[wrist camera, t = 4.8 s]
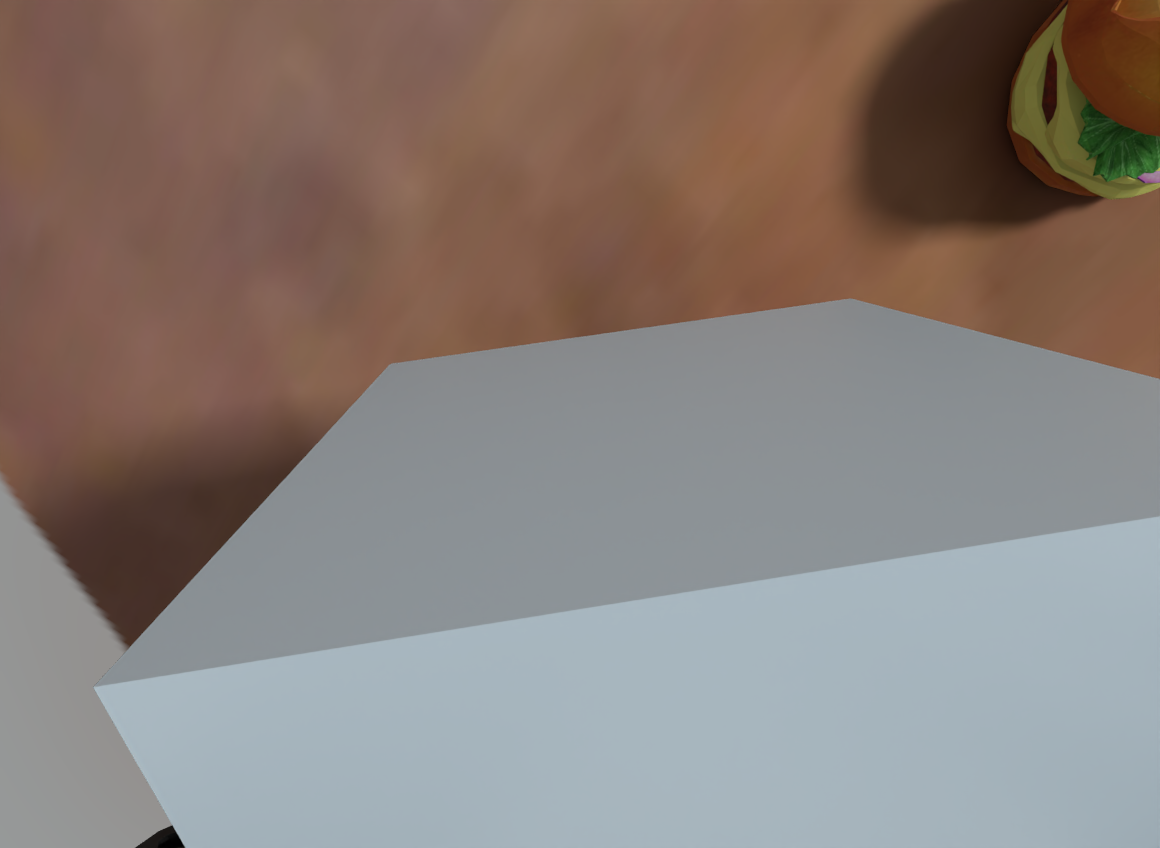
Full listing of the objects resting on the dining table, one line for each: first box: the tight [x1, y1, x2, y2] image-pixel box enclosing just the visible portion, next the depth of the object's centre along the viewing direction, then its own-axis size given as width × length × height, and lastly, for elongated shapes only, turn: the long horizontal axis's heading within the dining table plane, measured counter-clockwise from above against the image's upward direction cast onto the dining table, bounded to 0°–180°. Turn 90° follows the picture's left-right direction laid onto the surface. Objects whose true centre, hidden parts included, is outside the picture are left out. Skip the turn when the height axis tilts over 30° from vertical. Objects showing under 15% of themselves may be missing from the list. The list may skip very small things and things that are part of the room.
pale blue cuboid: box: [93, 299, 1160, 848], centre depth 10 cm, size 10×10×9 cm
